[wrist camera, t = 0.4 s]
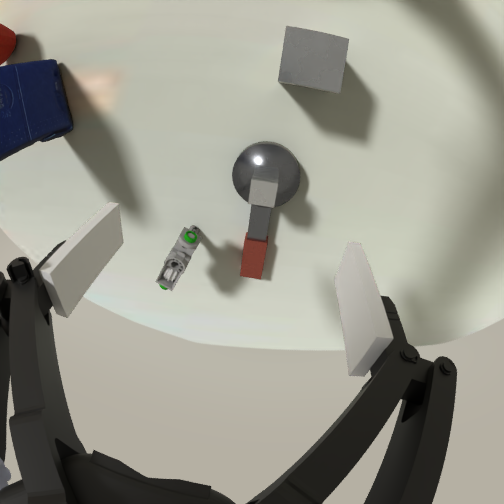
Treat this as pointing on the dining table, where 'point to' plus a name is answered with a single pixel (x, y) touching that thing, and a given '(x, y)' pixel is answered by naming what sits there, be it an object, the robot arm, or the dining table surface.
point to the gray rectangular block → (313, 59)
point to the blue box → (31, 105)
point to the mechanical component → (178, 258)
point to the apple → (6, 43)
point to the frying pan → (263, 195)
